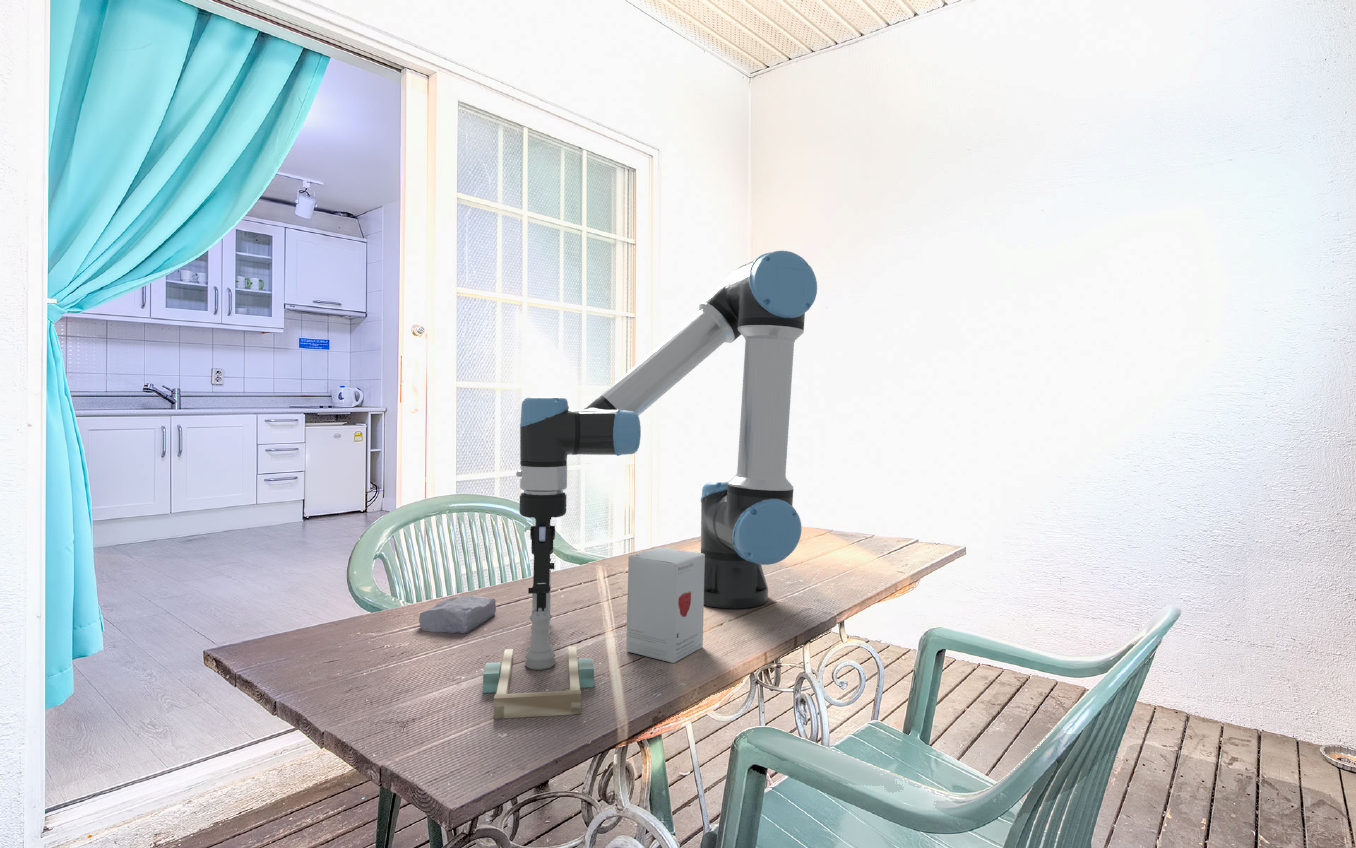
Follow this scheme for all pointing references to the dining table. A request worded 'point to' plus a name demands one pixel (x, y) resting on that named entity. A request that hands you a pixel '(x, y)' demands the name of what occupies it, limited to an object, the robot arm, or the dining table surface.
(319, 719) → the dining table surface
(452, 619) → the stone block
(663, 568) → the supplement box
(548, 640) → the rook chess piece
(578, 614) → the dining table surface
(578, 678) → the beam track
